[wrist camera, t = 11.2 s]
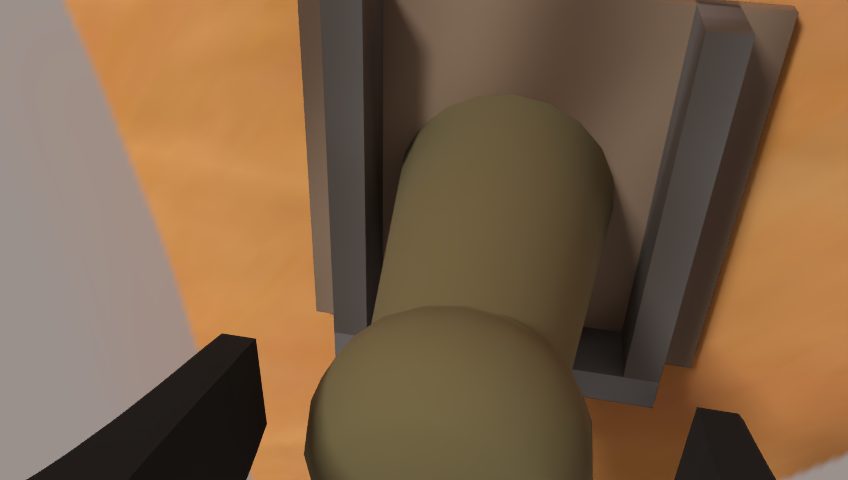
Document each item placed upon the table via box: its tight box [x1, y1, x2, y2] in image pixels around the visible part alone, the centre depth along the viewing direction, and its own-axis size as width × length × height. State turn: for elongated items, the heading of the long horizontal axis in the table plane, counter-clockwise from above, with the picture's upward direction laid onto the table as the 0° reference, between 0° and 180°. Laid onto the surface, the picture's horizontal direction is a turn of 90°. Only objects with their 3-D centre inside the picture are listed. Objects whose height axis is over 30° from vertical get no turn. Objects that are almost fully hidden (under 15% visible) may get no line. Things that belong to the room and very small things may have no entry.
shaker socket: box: [298, 0, 799, 408], centre depth 21 cm, size 12×11×2 cm
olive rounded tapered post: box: [304, 94, 613, 480], centre depth 17 cm, size 6×6×11 cm
